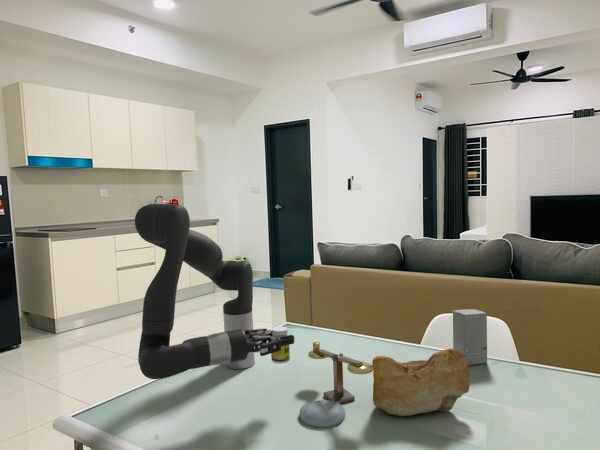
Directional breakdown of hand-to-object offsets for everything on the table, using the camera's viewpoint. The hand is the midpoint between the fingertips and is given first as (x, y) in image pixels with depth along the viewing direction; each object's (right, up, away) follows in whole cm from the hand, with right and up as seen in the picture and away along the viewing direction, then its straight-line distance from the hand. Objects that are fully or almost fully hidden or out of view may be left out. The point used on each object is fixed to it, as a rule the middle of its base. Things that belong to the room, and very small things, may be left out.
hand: (289, 335), depth 114 cm
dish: (+8, -17, -7) cm, 21 cm away
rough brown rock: (+33, -17, -3) cm, 37 cm away
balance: (+13, -17, +1) cm, 21 cm away
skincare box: (+56, -14, +23) cm, 62 cm away
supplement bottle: (-2, -6, -1) cm, 7 cm away
